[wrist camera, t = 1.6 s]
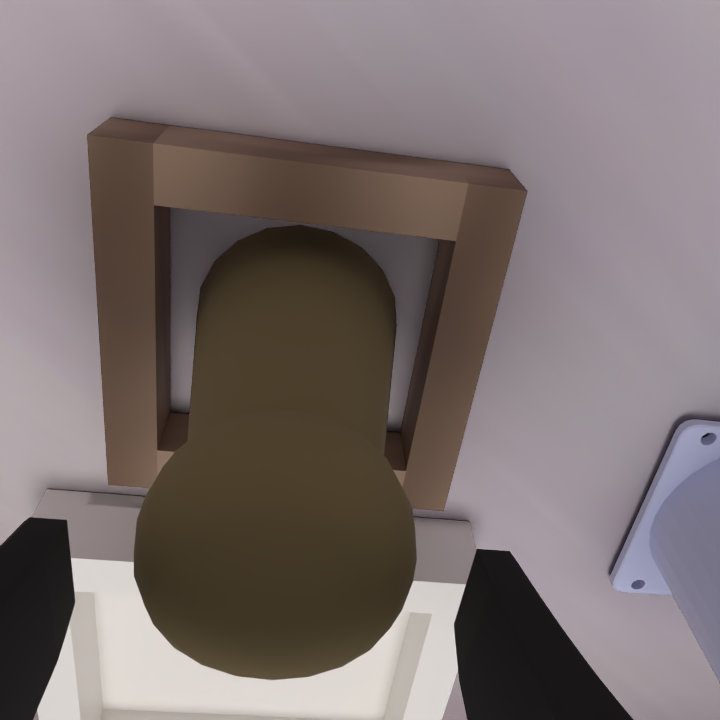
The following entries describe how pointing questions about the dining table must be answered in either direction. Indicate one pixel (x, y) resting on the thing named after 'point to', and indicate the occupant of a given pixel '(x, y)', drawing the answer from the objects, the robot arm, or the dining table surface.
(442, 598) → the cream tray
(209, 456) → the cork
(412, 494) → the walnut socket
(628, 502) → the dining table surface
